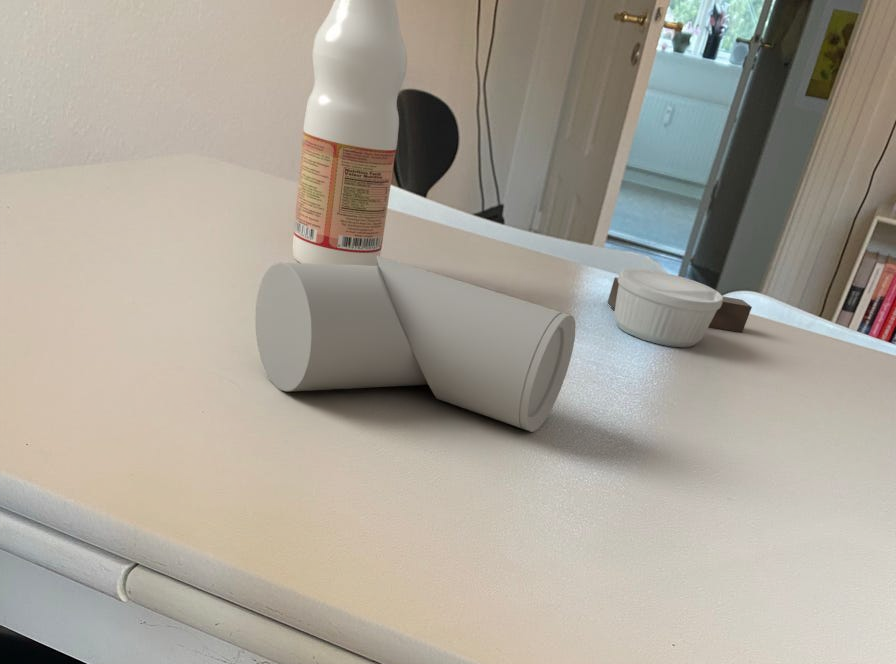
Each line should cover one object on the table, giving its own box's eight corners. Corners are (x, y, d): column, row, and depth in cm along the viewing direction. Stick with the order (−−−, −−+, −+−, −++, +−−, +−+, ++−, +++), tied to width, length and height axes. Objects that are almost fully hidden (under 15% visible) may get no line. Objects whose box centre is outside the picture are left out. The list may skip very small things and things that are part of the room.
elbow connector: (452, 335, 79) (240, 338, 68) (495, 215, 72) (265, 197, 61) (569, 462, 70) (347, 488, 59) (631, 340, 63) (391, 345, 52)
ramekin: (693, 359, 92) (712, 306, 89) (591, 327, 95) (606, 275, 92) (715, 339, 101) (733, 291, 98) (621, 311, 104) (635, 263, 101)
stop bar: (732, 325, 109) (742, 299, 107) (742, 332, 106) (752, 306, 104) (606, 303, 106) (614, 277, 104) (613, 310, 103) (621, 283, 102)
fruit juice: (276, 260, 95) (305, -75, 79) (311, 247, 102) (344, -61, 87) (360, 283, 93) (406, -54, 78) (389, 268, 101) (437, -42, 85)
